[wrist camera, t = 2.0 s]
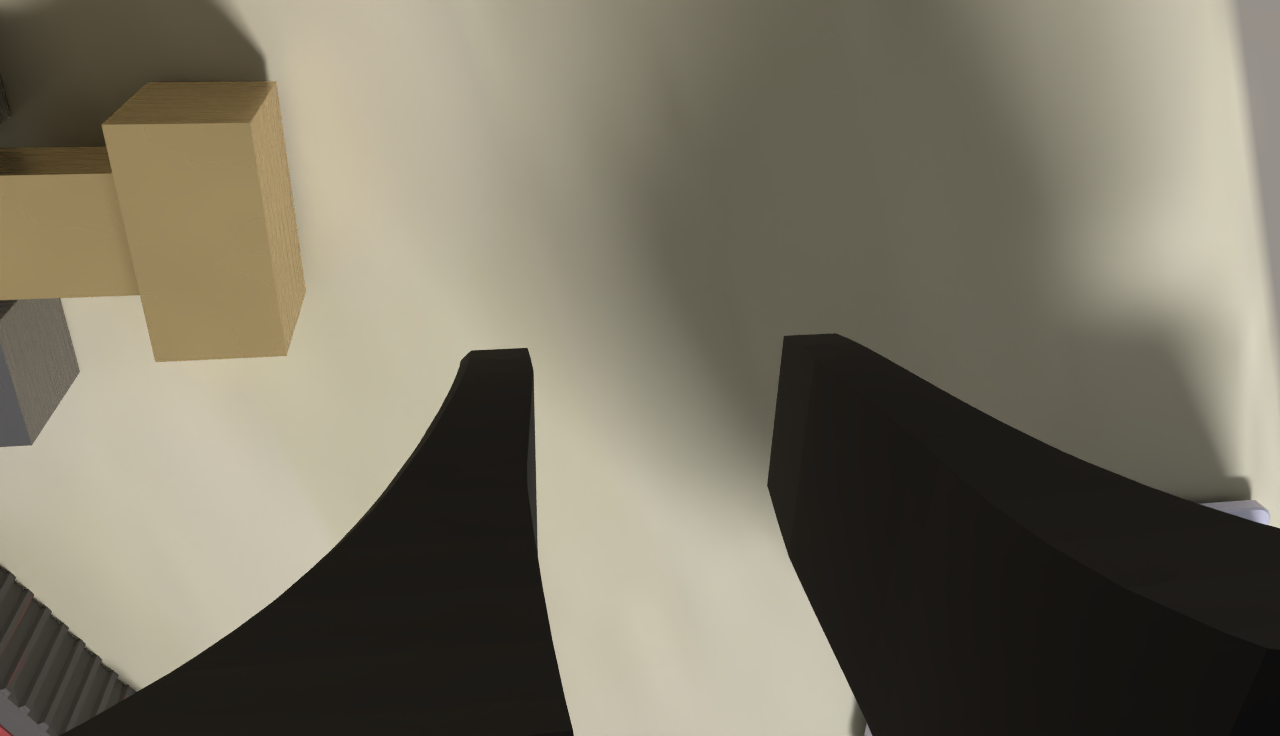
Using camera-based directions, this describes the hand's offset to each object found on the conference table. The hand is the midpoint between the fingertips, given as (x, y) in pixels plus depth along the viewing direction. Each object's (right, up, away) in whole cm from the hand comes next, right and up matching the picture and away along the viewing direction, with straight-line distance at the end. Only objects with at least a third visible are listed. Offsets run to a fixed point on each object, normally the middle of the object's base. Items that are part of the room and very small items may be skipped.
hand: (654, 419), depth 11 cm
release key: (-8, +3, +6) cm, 11 cm away
